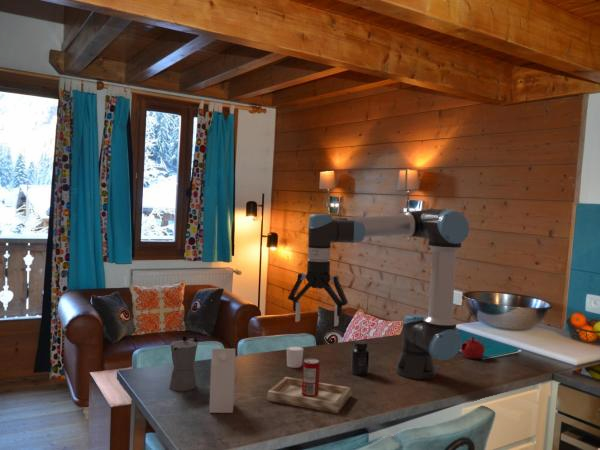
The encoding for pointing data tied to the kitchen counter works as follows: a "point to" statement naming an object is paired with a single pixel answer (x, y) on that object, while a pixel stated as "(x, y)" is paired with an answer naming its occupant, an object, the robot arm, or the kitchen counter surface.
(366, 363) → the supplement bottle
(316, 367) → the soda can
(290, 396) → the tray
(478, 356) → the pomegranate
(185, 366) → the coffeepot
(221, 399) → the milk carton
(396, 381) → the kitchen counter surface
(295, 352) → the white cylinder
